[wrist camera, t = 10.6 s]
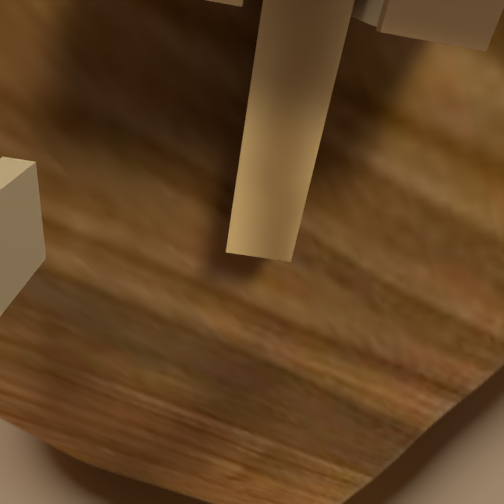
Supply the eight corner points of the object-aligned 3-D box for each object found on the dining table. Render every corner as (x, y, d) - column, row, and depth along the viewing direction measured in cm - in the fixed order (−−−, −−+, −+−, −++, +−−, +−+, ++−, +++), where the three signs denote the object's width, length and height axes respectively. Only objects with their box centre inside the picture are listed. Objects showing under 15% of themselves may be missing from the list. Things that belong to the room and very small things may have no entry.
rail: (231, 208, 31) (225, 252, 26) (271, -61, 23) (274, -73, 18) (286, 217, 32) (290, 261, 27) (345, -47, 23) (368, -55, 18)
